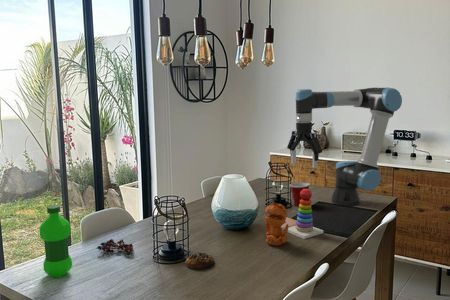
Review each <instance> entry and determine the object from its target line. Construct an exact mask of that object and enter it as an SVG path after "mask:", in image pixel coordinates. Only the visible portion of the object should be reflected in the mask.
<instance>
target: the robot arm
mask: <svg viewBox="0 0 450 300" xmlns="http://www.w3.org/2000/svg"><path fill="white" fill-rule="evenodd" d="M402 103H403V98H402V95H401V92H400V91H399V90H397V89H396V88H394V87H368V88H359V89H358V88H357V89H354V90H353V91H351V90H350V91H349V90H348V91H344V90H343V91H312V89H311V88H307V89H305V88H303V89H297V90H296V91H295V120H296V123H295V130H292V131H291V136H290V139H289V141H288V144H287V147H286V149H288V150H289V151H290V157H291V164H292V165H293V164H297V149H296V148H297V147H298V145H299V144H300V142H304V143H305V142H306V144H307V145H308V146H309V148H310V149H311V151H312V168H313V169H315V168H318V167H319V166H318V161H319V159H320V158H319V156H320V155H319V154H321V153H323V150H322V149H323V148H322V147H321V144H320V141H319V138H318V133H317V132H312V129H313V122H312V121H313V109H315V110H317V109H328V108H331V107H341V106H342V107H343V106H351V107H354V108H363V109H368V110H370V111H369V112H370V114H371V117H370V121H369V125H368V129H367V132H366V136H365V139H364V142H363V143H364V144H363V145H362V146H363V147H362V151H361V154H360V157H359V159H357V160H343V161H341V160H340V161H338V162H336V164H335V177H334V178H335V182H334V183H335V184H334V185H335V186H334V190H333V193H332V196H331V203H333V204H335V205H338V206H345V207H346V206H347V207H348V206H357V205H360V203H361V202H360V201H361V199H360V196H359V192H358V189H359V190H361V191H365V192H371V191H374V189H376V188H377V187H378V186H379V185H380V183H381V179H382V178H381V177H382V176H381V172H380V171H379V169H380V168H379V167H380V166H379V165H378V161H379V157H380V153H381V150H382V145H383V141H384V138H385V134H386V132H387V128H388V125H389V120H390V119H391V118H392V117H394V113H395V112H396V111H398V110H399V109H401V106H402ZM291 164H290V165H291Z"/></svg>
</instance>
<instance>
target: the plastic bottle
mask: <svg viewBox="0 0 450 300" xmlns="http://www.w3.org/2000/svg"><path fill="white" fill-rule="evenodd" d="M60 206H61V205H58V204H53V205H48V206H46V208H47V210H46V211H47V213H48V214H49V216H48V217H47V218H45V220H44V221H42V223H41V224H40V226H39V237H40V239H41V240H43V241H44V252H45V253H44V254H45V255H44V256H45V258H44V260H43V263H42V265H43V271H44V273H45V274H46V275H49V276H50V277H51V276H52V278H54V277H56V278H61V277H60V276H62V277H64V276H66V275H67V273H68V272H69V271H71V269H72V267H73V261H72V260H73V259H72V257H71V255H70V254H69V239H68V238H69V236H70V235H71V231H72V229H71V223H70V221H69V220H67V219H66V218H65V217H64V216H61V215H60V212H61V207H60Z"/></svg>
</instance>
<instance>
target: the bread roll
mask: <svg viewBox="0 0 450 300" xmlns="http://www.w3.org/2000/svg"><path fill="white" fill-rule="evenodd" d="M184 263H185V265H186V266H187V267H188V268H190V269H194V270H206V268H207V269H210V268H212V267H211V266H214V263H215V258H214V256H212V254H209V253H207V252H203V251H201V252H199V251H198V252H197V253H194V254H191V255H190V256H188V257H187V258H186V260H185V262H184Z"/></svg>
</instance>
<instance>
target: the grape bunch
mask: <svg viewBox="0 0 450 300" xmlns="http://www.w3.org/2000/svg"><path fill="white" fill-rule="evenodd" d="M96 249H98V250H99V251H101V250H102V251H105V252H106V253H112V252H114V250H115V252H116V251H117V252H121V251H123V252H124V253H125V255H126V256H130V255H131V253H135V250H134V245H133V244H132V243H129V244H128V243H126V242H125V241H124V239H120V240H118V241H116V242H115V241H114V239H113V238H110V239H109V240H106V241H104V242H103V241H102V242H101V243H99V245H97V247H96Z"/></svg>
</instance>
